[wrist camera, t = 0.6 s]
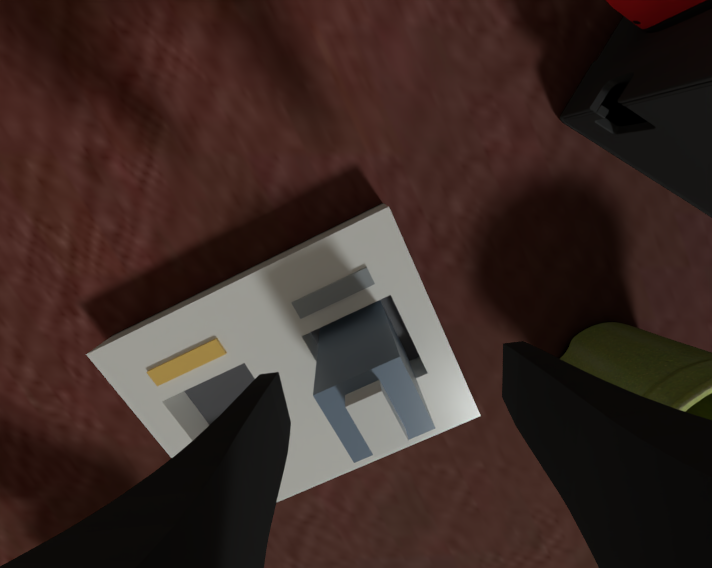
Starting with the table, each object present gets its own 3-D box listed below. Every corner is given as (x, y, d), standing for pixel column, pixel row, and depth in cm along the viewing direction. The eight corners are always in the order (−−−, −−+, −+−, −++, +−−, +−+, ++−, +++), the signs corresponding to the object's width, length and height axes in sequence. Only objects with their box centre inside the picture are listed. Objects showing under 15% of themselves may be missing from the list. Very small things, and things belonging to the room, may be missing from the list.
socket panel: (235, 492, 25) (224, 527, 23) (113, 335, 21) (83, 356, 19) (466, 392, 24) (481, 418, 21) (382, 202, 20) (389, 206, 17)
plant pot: (655, 272, 22) (850, 331, 14) (677, 389, 25) (850, 497, 16) (514, 332, 23) (618, 422, 14) (551, 438, 25) (655, 566, 17)
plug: (349, 377, 22) (355, 477, 15) (320, 326, 21) (311, 407, 14) (405, 352, 22) (440, 441, 15) (379, 298, 21) (403, 366, 13)
